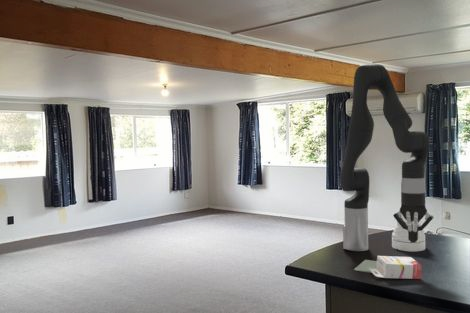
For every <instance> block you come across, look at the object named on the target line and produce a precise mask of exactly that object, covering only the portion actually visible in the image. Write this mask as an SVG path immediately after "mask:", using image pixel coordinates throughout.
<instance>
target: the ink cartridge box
mask: <svg viewBox="0 0 470 313" xmlns="http://www.w3.org/2000/svg"><path fill="white" fill-rule="evenodd" d="M376 257H377V258H376V261H377V269H375V268H368V269H369V270H370V271H371V272H372V274H373V275H374V276H375V277H376V278H383V279H402V280H403V279H404V280H405V279H408V280H410V279H411V280H421V279H422V278H421V276H422V268H423V267H422V266H423V265H422V264H420V262H419V261H417V260H415V259H414V258H413V257H411V256H397V255H396V256H390V255H377V256H376ZM374 271H376V272H377V273H378V274H377V273H375V272H374Z"/></svg>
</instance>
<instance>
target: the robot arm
mask: <svg viewBox="0 0 470 313" xmlns="http://www.w3.org/2000/svg"><path fill="white" fill-rule="evenodd" d="M369 90H370V91H371V90H377V91H379V93H380V94H381V95H382V97H383V105H382V112H383V116H384V118H385V120H386V122H387V123H388V126H390V128H391V130H392V135H393V138H394V144H395V145H396V148H397V149H398V150H399V151H401V152H403V153H406V154H408V153H409V154H410V157H409V158H408V159H405V160H403V162H402V163H401V183H400V188H401V189H400V198H401V199H400V208H399V211H397V212H395V213H394V214H393V218H394V219H395V220H396V222H397V221H398V223H399V224H400V225H401V227H402V228H403V229H406V230H408V239H409V241H410V242H412V243H415V242H416V241H417V240H418V231H422V230H423V231H424V229H425V228H426V227H427V226H428V225H429V224H430V222H431V221H433V219H434V215H431V214H430V213H429V212H428V209H427V208H426V191H427V190H426V189H427V188H426V180H425V165H426V161H427V157H428V155H429V151H430V147H431V146H430V142H431V141H430V138H429V136H428V134H427V133H426V132H424V131H419V130H417V131H416V130H415V131H410V130H409V129H411V127H412V126H413V120H412V118H411V116H410V115H409V113H408V111H407V110H406V109H405V107H404V105H403V104H402V101H401V100H400V98H399V96H398V94H397V91H396V87H395V86H394V83H393V81H392V79H391V76H390V74H389V72H388V69H387V68H386V67H385V66H384V65H382V64H377V63H375V64H374V63H373V64H359V66H357V68H356V70H355V72H354V76H353V90H352V103H351V104H352V105H351V114H350V120H349V125H348V131H347V141H346V145H345V146H346V147H345V152H344V159H343V160H342V161H343V162H342V166H341V170H340V175H339V184H340V185H339V186H340V188H341V190H342V191H345V192H349V191H350V192H354V191H355V193H354V194H353V195H352V196H350V197H349V198H346V199H345V200H344V204H343V205H344V225H343V226H342V241H343V242H342V244H343V246H342V247H343V248H342V249H343V250H347V251H352V252H365V251H368V250H369V210H368V209H369V208H368V207H369V206H368V205H369V200H370V174H369V171H368V170H367V168H364V167H356V164H357V161H358V160H359V158H360V156H361V155H362V154H363V153H364V152H365V150H366V149H367V148H368V146H369V145H370V144H371V142H372V141H373V133H374V128H375V123H374V122H375V121H374V118H373V116H372V114H371V111H370V109H369V107H368V106H369V105H368V92H369ZM401 214H402V215H403V216H404V218H405V219H406V220H407V224H406V223H405V222H404V220H403V219H402V218H401V217H402V215H401ZM423 218H424V220H425V221H424V222H423V223H421V226H419V221H420V220H421V219H422V220H423ZM413 221H414V228H413Z"/></svg>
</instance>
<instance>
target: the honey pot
mask: <svg viewBox="0 0 470 313" xmlns="http://www.w3.org/2000/svg"><path fill="white" fill-rule="evenodd" d="M401 215H402V214H401ZM401 218H402V219H403V220H404V222H405V223H406V224H407V220H406V219H405V218H404V216H403V215H402V217H401ZM422 222H423V218H422V219H421V220H420V221H419V226H421V225H422ZM413 228H414V221H413ZM391 247H392V248H393V249H395V250H397V249H398V250H399V251H404V252H421V251H425V250H426V234H425V232H424V229H423V230H422V231H418V240H417V241H416V242H415V243H412V242H410V241H409V239H408V230H406V229H403V228H402V227H401V225H400V224H399V223H398V221H397V220H396V223H395V225H394V228H393V231H392V233H391Z"/></svg>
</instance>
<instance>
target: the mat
mask: <svg viewBox="0 0 470 313" xmlns="http://www.w3.org/2000/svg"><path fill="white" fill-rule="evenodd" d="M368 268H375V269H377V260H370V259H364V260H363V261H362V262H361V263H360V264H359V265H357V266H356V267H355V268H354V271H357V272H364V273H372V272H371V271H370V270H369V269H368ZM374 272H375V273H376V274H378V273H377V272H376V271H374ZM372 274H373V273H372Z"/></svg>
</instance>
